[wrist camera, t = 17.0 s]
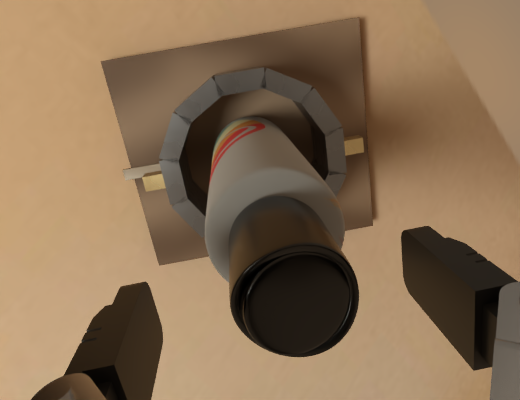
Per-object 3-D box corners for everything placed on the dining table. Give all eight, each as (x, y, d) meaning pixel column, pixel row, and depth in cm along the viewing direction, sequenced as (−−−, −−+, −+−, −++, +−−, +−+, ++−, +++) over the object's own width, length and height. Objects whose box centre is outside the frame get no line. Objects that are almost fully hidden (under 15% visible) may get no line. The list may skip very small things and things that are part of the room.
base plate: (367, 220, 34) (373, 226, 32) (154, 259, 33) (151, 268, 32) (353, 19, 28) (360, 17, 27) (97, 62, 28) (91, 62, 26)
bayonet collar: (352, 206, 32) (372, 228, 28) (172, 239, 31) (164, 267, 27) (339, 52, 28) (360, 50, 23) (132, 88, 27) (115, 93, 23)
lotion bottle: (198, 142, 29) (151, 292, 10) (262, 99, 28) (340, 174, 9) (240, 202, 31) (266, 422, 12) (301, 163, 30) (431, 330, 11)
